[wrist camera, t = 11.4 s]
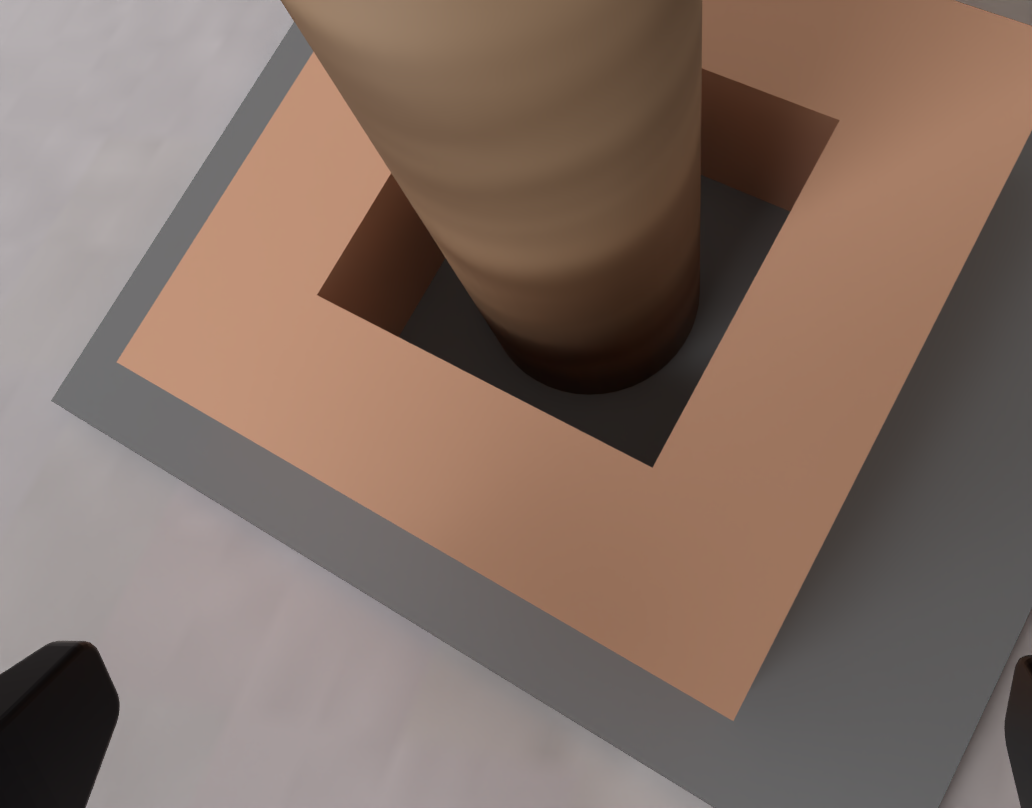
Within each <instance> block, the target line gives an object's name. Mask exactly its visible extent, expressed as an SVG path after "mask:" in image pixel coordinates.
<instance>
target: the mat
mask: <svg viewBox="0 0 1032 808" xmlns="http://www.w3.org/2000/svg"><path fill="white" fill-rule="evenodd" d="M312 53H313V50H312V48H311V47H310V45H309V44H308V42H307V41H306V39H305V37H304V36H303V34H302V33H301V31H300V30H299V28H298V26H297V25H296V23H295V22H294V23H293V25H292V26H291V28H290V29H289V31H288V32H287V34H286V35H285V37H284V39H283V40H282V42H281V43H280V45H279V46H278V48H277V49H276V51H275V53H274V54H273V56H272V57H271V59H270V60H269V62H268V64H267V65H266V67H265V68H264V70H263V71H262V73H261V74H260V76H259V78H258V79H257V81H256V82H255V84H254V85H253V87H252V88H251V90H250V92H249V93H248V95H247V96H246V98H245V99H244V101H243V102H242V104H241V106H240V107H239V109H238V110H237V112H236V113H235V115H234V117H233V118H232V120H231V121H230V123H229V124H228V126H227V127H226V129H225V131H224V132H223V134H222V135H221V137H220V138H219V140H218V141H217V143H216V145H215V146H214V148H213V149H212V151H211V152H210V154H209V156H208V157H207V159H206V160H205V162H204V163H203V165H202V166H201V168H200V170H199V171H198V173H197V174H196V176H195V177H194V179H193V180H192V182H191V184H190V185H189V187H188V188H187V190H186V191H185V193H184V194H183V196H182V198H181V199H180V201H179V202H178V204H177V205H176V207H175V209H174V210H173V212H172V213H171V215H170V216H169V218H168V219H167V221H166V223H165V224H164V226H163V227H162V229H161V230H160V232H159V233H158V235H157V237H156V238H155V240H154V241H153V243H152V244H151V246H150V248H149V249H148V251H147V252H146V254H145V255H144V257H143V258H142V260H141V262H140V263H139V265H138V266H137V268H136V269H135V271H134V272H133V274H132V276H131V277H130V279H129V280H128V282H127V283H126V285H125V287H124V288H123V290H122V291H121V293H120V294H119V296H118V297H117V299H116V301H115V302H114V304H113V305H112V307H111V308H110V310H109V311H108V313H107V315H106V316H105V318H104V319H103V321H102V322H101V324H100V325H99V327H98V329H97V330H96V332H95V333H94V335H93V336H92V338H91V340H90V341H89V343H88V344H87V346H86V347H85V349H84V350H83V352H82V354H81V355H80V357H79V358H78V360H77V361H76V363H75V364H74V366H73V368H72V369H71V371H70V372H69V374H68V375H67V377H66V379H65V380H64V382H63V383H62V385H61V386H60V388H59V389H58V391H57V393H56V394H55V396H54V397H53V399H52V400H51V401H52V402H54V403H56V404H57V405H59V406H61V407H62V408H64V409H65V410H67V411H69V412H70V413H72V414H74V415H75V416H77V417H78V418H80V419H82V420H83V421H85V422H87V423H88V424H90V425H91V426H93V427H95V428H96V429H98V430H100V431H101V432H103V433H105V434H106V435H108V436H109V437H111V438H113V439H114V440H116V441H118V442H119V443H121V444H122V445H124V446H126V447H127V448H129V449H131V450H132V451H134V452H135V453H137V454H139V455H140V456H142V457H144V458H145V459H147V460H149V461H150V462H152V463H153V464H155V465H157V466H158V467H160V468H162V469H163V470H165V471H166V472H168V473H170V474H171V475H173V476H175V477H176V478H178V479H179V480H181V481H183V482H184V483H186V484H188V485H189V486H191V487H193V488H194V489H196V490H197V491H199V492H201V493H202V494H204V495H206V496H207V497H209V498H210V499H212V500H214V501H215V502H217V503H219V504H220V505H222V506H224V507H225V508H227V509H228V510H230V511H232V512H233V513H235V514H237V515H238V516H240V517H241V518H243V519H245V520H246V521H248V522H250V523H251V524H253V525H254V526H256V527H258V528H259V529H261V530H263V531H264V532H266V533H268V534H269V535H271V536H272V537H274V538H276V539H277V540H279V541H281V542H282V543H284V544H285V545H287V546H289V547H290V548H292V549H294V550H295V551H297V552H298V553H300V554H302V555H303V556H305V557H307V558H308V559H310V560H312V561H313V562H315V563H316V564H318V565H320V566H321V567H323V568H325V569H326V570H328V571H329V572H331V573H333V574H334V575H336V576H338V577H339V578H341V579H342V580H344V581H346V582H347V583H349V584H351V585H352V586H354V587H356V588H357V589H359V590H360V591H362V592H364V593H365V594H367V595H369V596H370V597H372V598H373V599H375V600H377V601H378V602H380V603H382V604H383V605H385V606H387V607H388V608H390V609H391V610H393V611H395V612H396V613H398V614H400V615H401V616H403V617H404V618H406V619H408V620H409V621H411V622H413V623H414V624H416V625H417V626H419V627H421V628H422V629H424V630H426V631H427V632H429V633H431V634H432V635H434V636H435V637H437V638H439V639H440V640H442V641H444V642H445V643H447V644H448V645H450V646H452V647H453V648H455V649H457V650H458V651H460V652H461V653H463V654H465V655H466V656H468V657H470V658H471V659H473V660H475V661H476V662H478V663H479V664H481V665H483V666H484V667H486V668H488V669H489V670H491V671H492V672H494V673H496V674H497V675H499V676H501V677H502V678H504V679H505V680H507V681H509V682H510V683H512V684H514V685H515V686H517V687H519V688H520V689H522V690H523V691H525V692H527V693H528V694H530V695H532V696H533V697H535V698H536V699H538V700H540V701H541V702H543V703H545V704H546V705H548V706H550V707H551V708H553V709H554V710H556V711H558V712H559V713H561V714H563V715H564V716H566V717H567V718H569V719H571V720H572V721H574V722H576V723H577V724H579V725H580V726H582V727H584V728H585V729H587V730H589V731H590V732H592V733H594V734H595V735H597V736H598V737H600V738H602V739H603V740H605V741H607V742H608V743H610V744H611V745H613V746H615V747H616V748H618V749H620V750H621V751H623V752H624V753H626V754H628V755H629V756H631V757H633V758H634V759H636V760H638V761H639V762H641V763H642V764H644V765H646V766H647V767H649V768H651V769H652V770H654V771H655V772H657V773H659V774H660V775H662V776H664V777H665V778H667V779H668V780H670V781H672V782H673V783H675V784H677V785H678V786H680V787H682V788H683V789H685V790H686V791H688V792H690V793H691V794H693V795H695V796H696V797H698V798H699V799H701V800H703V801H704V802H706V803H708V804H709V805H711V806H713V807H714V808H939V806H940V803H941V801H942V799H943V797H944V795H945V793H946V791H947V788H948V786H949V784H950V782H951V780H952V778H953V776H954V773H955V771H956V769H957V767H958V765H959V763H960V761H961V759H962V756H963V754H964V752H965V750H966V748H967V746H968V744H969V741H970V739H971V737H972V735H973V733H974V731H975V729H976V726H977V724H978V722H979V720H980V718H981V716H982V714H983V711H984V709H985V707H986V705H987V703H988V701H989V699H990V697H991V694H992V692H993V690H994V688H995V686H996V684H997V682H998V679H999V677H1000V675H1001V673H1002V671H1003V669H1004V667H1005V664H1006V662H1007V660H1008V658H1009V656H1010V654H1011V652H1012V649H1013V647H1014V645H1015V643H1016V641H1017V639H1018V637H1019V635H1020V632H1021V630H1022V628H1023V626H1024V624H1025V622H1026V620H1027V617H1028V615H1029V613H1030V611H1031V609H1032V131H1031V133H1030V135H1029V137H1028V139H1027V141H1026V143H1025V145H1024V147H1023V149H1022V151H1021V153H1020V155H1019V157H1018V159H1017V161H1016V163H1015V165H1014V167H1013V169H1012V171H1011V173H1010V175H1009V177H1008V179H1007V180H1006V182H1005V184H1004V186H1003V188H1002V190H1001V192H1000V194H999V196H998V198H997V200H996V202H995V204H994V206H993V208H992V210H991V212H990V214H989V216H988V218H987V220H986V222H985V224H984V226H983V228H982V230H981V232H980V234H979V236H978V238H977V240H976V242H975V244H974V246H973V248H972V250H971V252H970V254H969V256H968V258H967V260H966V262H965V264H964V266H963V268H962V270H961V272H960V273H959V275H958V277H957V279H956V281H955V283H954V285H953V287H952V289H951V291H950V293H949V295H948V297H947V299H946V301H945V303H944V305H943V307H942V309H941V311H940V313H939V315H938V317H937V319H936V321H935V323H934V325H933V327H932V329H931V331H930V333H929V335H928V337H927V339H926V341H925V343H924V345H923V347H922V349H921V351H920V353H919V355H918V357H917V359H916V361H915V363H914V365H913V367H912V368H911V370H910V372H909V374H908V376H907V378H906V380H905V382H904V384H903V386H902V388H901V390H900V392H899V394H898V396H897V398H896V400H895V402H894V404H893V406H892V408H891V410H890V412H889V414H888V416H887V418H886V420H885V422H884V424H883V426H882V428H881V430H880V432H879V434H878V436H877V438H876V440H875V442H874V444H873V446H872V448H871V450H870V452H869V454H868V456H867V458H866V460H865V462H864V463H863V465H862V467H861V469H860V471H859V473H858V475H857V477H856V479H855V481H854V483H853V485H852V487H851V489H850V491H849V493H848V495H847V497H846V499H845V501H844V503H843V505H842V507H841V509H840V511H839V513H838V515H837V517H836V519H835V521H834V523H833V525H832V527H831V529H830V531H829V533H828V535H827V537H826V539H825V541H824V543H823V545H822V547H821V549H820V551H819V553H818V555H817V556H816V558H815V560H814V562H813V564H812V566H811V568H810V570H809V572H808V574H807V576H806V578H805V580H804V582H803V584H802V586H801V588H800V590H799V592H798V594H797V596H796V598H795V600H794V602H793V604H792V606H791V608H790V610H789V612H788V614H787V616H786V618H785V620H784V622H783V624H782V626H781V628H780V630H779V632H778V634H777V636H776V638H775V640H774V642H773V644H772V646H771V648H770V650H769V651H768V653H767V655H766V657H765V659H764V661H763V663H762V665H761V667H760V669H759V671H758V673H757V675H756V677H755V679H754V681H753V683H752V685H751V687H750V689H749V691H748V693H747V695H746V697H745V699H744V701H743V703H742V705H741V707H740V709H739V711H738V713H737V715H736V717H735V719H734V721H732V720H730V719H729V718H727V717H725V716H723V715H722V714H720V713H718V712H717V711H715V710H713V709H711V708H710V707H708V706H706V705H705V704H703V703H701V702H699V701H698V700H696V699H694V698H692V697H691V696H689V695H687V694H686V693H684V692H682V691H680V690H679V689H677V688H675V687H674V686H672V685H670V684H668V683H667V682H665V681H663V680H662V679H660V678H658V677H656V676H655V675H653V674H651V673H650V672H648V671H646V670H644V669H643V668H641V667H639V666H638V665H636V664H634V663H632V662H631V661H629V660H627V659H626V658H624V657H622V656H620V655H619V654H617V653H615V652H613V651H612V650H610V649H608V648H607V647H605V646H603V645H601V644H600V643H598V642H596V641H595V640H593V639H591V638H589V637H588V636H586V635H584V634H583V633H581V632H579V631H577V630H576V629H574V628H572V627H571V626H569V625H567V624H565V623H564V622H562V621H560V620H559V619H557V618H555V617H553V616H552V615H550V614H548V613H546V612H545V611H543V610H541V609H540V608H538V607H536V606H534V605H533V604H531V603H529V602H528V601H526V600H524V599H522V598H521V597H519V596H517V595H516V594H514V593H512V592H510V591H509V590H507V589H505V588H504V587H502V586H500V585H498V584H497V583H495V582H493V581H492V580H490V579H488V578H486V577H485V576H483V575H481V574H479V573H478V572H476V571H474V570H473V569H471V568H469V567H467V566H466V565H464V564H462V563H461V562H459V561H457V560H455V559H454V558H452V557H450V556H449V555H447V554H445V553H443V552H442V551H440V550H438V549H437V548H435V547H433V546H431V545H430V544H428V543H426V542H425V541H423V540H421V539H419V538H418V537H416V536H414V535H412V534H411V533H409V532H407V531H406V530H404V529H402V528H400V527H399V526H397V525H395V524H394V523H392V522H390V521H388V520H387V519H385V518H383V517H382V516H380V515H378V514H376V513H375V512H373V511H371V510H370V509H368V508H366V507H364V506H363V505H361V504H359V503H358V502H356V501H354V500H352V499H351V498H349V497H347V496H346V495H344V494H342V493H340V492H339V491H337V490H335V489H333V488H332V487H330V486H328V485H327V484H325V483H323V482H321V481H320V480H318V479H316V478H315V477H313V476H311V475H309V474H308V473H306V472H304V471H303V470H301V469H299V468H297V467H296V466H294V465H292V464H291V463H289V462H287V461H285V460H284V459H282V458H280V457H279V456H277V455H275V454H273V453H272V452H270V451H268V450H266V449H265V448H263V447H261V446H260V445H258V444H256V443H254V442H253V441H251V440H249V439H248V438H246V437H244V436H242V435H241V434H239V433H237V432H236V431H234V430H232V429H230V428H229V427H227V426H225V425H224V424H222V423H220V422H218V421H217V420H215V419H213V418H212V417H210V416H208V415H206V414H205V413H203V412H201V411H199V410H198V409H196V408H194V407H193V406H191V405H189V404H187V403H186V402H184V401H182V400H181V399H179V398H177V397H175V396H174V395H172V394H170V393H169V392H167V391H165V390H163V389H162V388H160V387H158V386H157V385H155V384H153V383H151V382H150V381H148V380H146V379H145V378H143V377H141V376H139V375H138V374H136V373H134V372H132V371H131V370H129V369H127V368H126V367H124V366H122V365H120V364H119V363H117V360H118V359H119V357H120V356H121V354H122V353H123V351H124V349H125V348H126V346H127V345H128V343H129V342H130V340H131V338H132V337H133V335H134V334H135V332H136V331H137V329H138V327H139V326H140V324H141V323H142V321H143V320H144V318H145V316H146V315H147V313H148V312H149V310H150V309H151V307H152V305H153V304H154V302H155V301H156V299H157V297H158V296H159V294H160V293H161V291H162V290H163V288H164V286H165V285H166V283H167V282H168V280H169V279H170V277H171V275H172V274H173V272H174V271H175V269H176V268H177V266H178V264H179V263H180V261H181V260H182V258H183V257H184V255H185V253H186V252H187V250H188V249H189V247H190V245H191V244H192V242H193V241H194V239H195V238H196V236H197V234H198V233H199V231H200V230H201V228H202V227H203V225H204V223H205V222H206V220H207V219H208V217H209V216H210V214H211V212H212V211H213V209H214V208H215V206H216V205H217V203H218V201H219V200H220V198H221V197H222V195H223V193H224V192H225V190H226V189H227V187H228V186H229V184H230V182H231V181H232V179H233V178H234V176H235V175H236V173H237V171H238V170H239V168H240V167H241V165H242V164H243V162H244V160H245V159H246V157H247V156H248V154H249V153H250V151H251V149H252V148H253V146H254V145H255V143H256V142H257V140H258V138H259V137H260V135H261V134H262V132H263V130H264V129H265V127H266V126H267V124H268V123H269V121H270V119H271V118H272V116H273V115H274V113H275V112H276V110H277V108H278V107H279V105H280V104H281V102H282V101H283V99H284V97H285V96H286V94H287V93H288V91H289V90H290V88H291V86H292V85H293V83H294V82H295V80H296V78H297V77H298V75H299V74H300V72H301V71H302V69H303V67H304V66H305V64H306V63H307V61H308V60H309V58H310V56H311V55H312ZM789 213H790V211H788V210H785V209H783V208H780V207H778V206H776V205H773V204H771V203H768V202H766V201H763V200H761V199H759V198H756V197H754V196H751V195H749V194H746V193H744V192H742V191H739V190H737V189H734V188H732V187H729V186H727V185H725V184H722V183H720V182H717V181H715V180H712V179H710V178H708V177H705V176H703V175H701V210H700V295H699V306H698V310H697V315H696V319H695V322H694V324H693V327H692V330H691V332H690V334H689V336H688V337H687V339H686V341H685V343H684V344H683V346H682V347H681V348H680V350H679V351H678V353H677V354H676V355H675V356H674V357H673V358H672V359H671V360H670V361H669V363H668V364H667V365H665V366H664V367H663V368H662V369H661V370H659V371H658V372H657V373H656V374H654V375H652V376H651V377H649V378H648V379H646V380H644V381H643V382H640V383H638V384H636V385H634V386H632V387H629V388H626V389H623V390H620V391H616V392H611V393H605V394H593V395H586V394H574V393H569V392H564V391H560V390H557V389H554V388H551V387H548V386H546V385H544V384H542V383H540V382H538V381H536V380H535V379H533V378H532V377H530V376H529V375H527V374H526V373H525V372H524V371H522V370H521V369H520V368H519V367H518V366H517V365H516V364H515V363H514V362H513V361H512V359H511V358H510V357H509V356H508V355H507V353H506V352H505V350H504V348H503V347H502V345H501V344H500V342H499V341H498V339H497V338H496V336H495V334H494V333H493V331H492V330H491V328H490V327H489V325H488V323H487V322H486V320H485V319H484V317H483V316H482V314H481V313H480V311H479V309H478V308H477V306H476V305H475V303H474V302H473V300H472V298H471V297H470V295H469V294H468V292H467V291H466V289H465V288H464V286H463V284H462V283H461V281H460V280H459V278H458V277H457V275H456V273H455V272H454V270H453V269H452V267H451V266H450V264H449V263H448V261H447V259H446V258H445V259H444V261H443V263H442V264H441V266H440V268H439V269H438V271H437V273H436V275H435V276H434V278H433V280H432V281H431V283H430V285H429V286H428V288H427V290H426V291H425V293H424V295H423V297H422V298H421V300H420V302H419V303H418V305H417V307H416V308H415V310H414V312H413V313H412V315H411V317H410V319H409V320H408V322H407V324H406V325H405V327H404V329H403V330H402V332H401V334H400V335H399V338H401V339H403V340H405V341H407V342H409V343H411V344H413V345H415V346H417V347H419V348H421V349H423V350H424V351H426V352H428V353H430V354H432V355H434V356H436V357H438V358H440V359H442V360H444V361H446V362H448V363H450V364H452V365H454V366H456V367H458V368H459V369H461V370H463V371H465V372H467V373H469V374H471V375H473V376H475V377H477V378H479V379H481V380H483V381H485V382H487V383H489V384H491V385H493V386H494V387H496V388H498V389H500V390H502V391H504V392H506V393H508V394H510V395H512V396H514V397H516V398H518V399H520V400H522V401H524V402H526V403H528V404H529V405H531V406H533V407H535V408H537V409H539V410H541V411H543V412H545V413H547V414H549V415H551V416H553V417H555V418H557V419H559V420H561V421H563V422H564V423H566V424H568V425H570V426H572V427H574V428H576V429H578V430H580V431H582V432H584V433H586V434H588V435H590V436H592V437H594V438H596V439H598V440H599V441H601V442H603V443H605V444H607V445H609V446H611V447H613V448H615V449H617V450H619V451H621V452H623V453H625V454H627V455H629V456H631V457H633V458H634V459H636V460H638V461H640V462H642V463H644V464H646V465H648V466H650V467H652V468H653V466H654V464H655V462H656V460H657V458H658V457H659V455H660V453H661V451H662V449H663V447H664V445H665V444H666V442H667V440H668V438H669V436H670V434H671V432H672V431H673V429H674V427H675V425H676V423H677V421H678V419H679V418H680V416H681V414H682V412H683V410H684V408H685V406H686V405H687V403H688V401H689V399H690V397H691V395H692V393H693V392H694V390H695V388H696V386H697V384H698V382H699V380H700V379H701V377H702V375H703V373H704V371H705V369H706V367H707V366H708V364H709V362H710V360H711V358H712V356H713V355H714V353H715V351H716V349H717V347H718V345H719V343H720V342H721V340H722V338H723V336H724V334H725V332H726V330H727V329H728V327H729V325H730V323H731V321H732V319H733V317H734V316H735V314H736V312H737V310H738V308H739V306H740V304H741V303H742V301H743V299H744V297H745V295H746V293H747V291H748V290H749V288H750V286H751V284H752V282H753V280H754V278H755V277H756V275H757V273H758V271H759V269H760V267H761V265H762V264H763V262H764V260H765V258H766V256H767V254H768V252H769V251H770V249H771V247H772V245H773V243H774V241H775V239H776V238H777V236H778V234H779V232H780V230H781V228H782V226H783V225H784V223H785V221H786V219H787V217H788V215H789Z"/></svg>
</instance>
